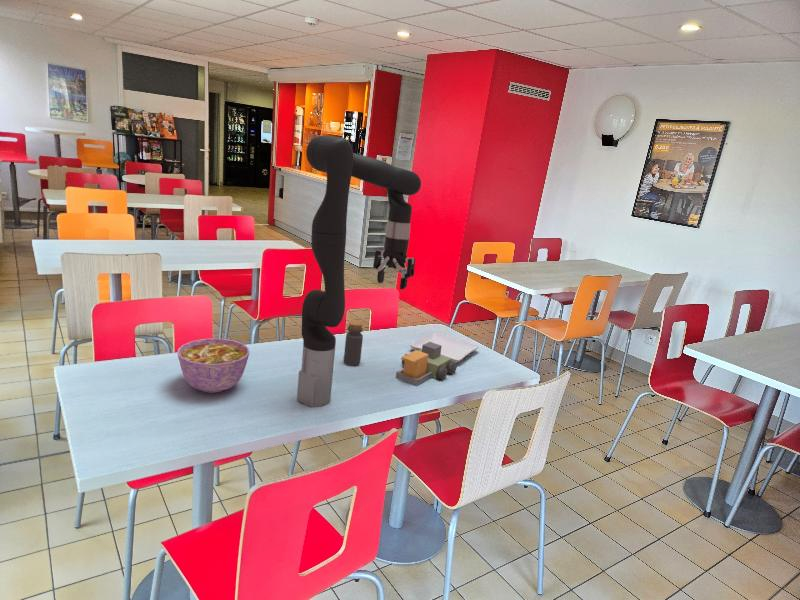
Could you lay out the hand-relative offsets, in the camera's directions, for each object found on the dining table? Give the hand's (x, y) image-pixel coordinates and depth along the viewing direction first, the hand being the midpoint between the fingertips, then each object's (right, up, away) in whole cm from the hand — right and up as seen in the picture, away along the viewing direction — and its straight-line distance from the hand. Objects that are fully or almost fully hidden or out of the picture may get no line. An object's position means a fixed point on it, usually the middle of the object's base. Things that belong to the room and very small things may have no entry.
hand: (391, 285), depth 171 cm
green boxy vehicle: (+10, -30, +16) cm, 36 cm away
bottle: (-14, -27, +17) cm, 35 cm away
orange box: (+7, -31, +11) cm, 33 cm away
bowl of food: (-53, -31, -12) cm, 62 cm away
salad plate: (+20, -25, +39) cm, 51 cm away
